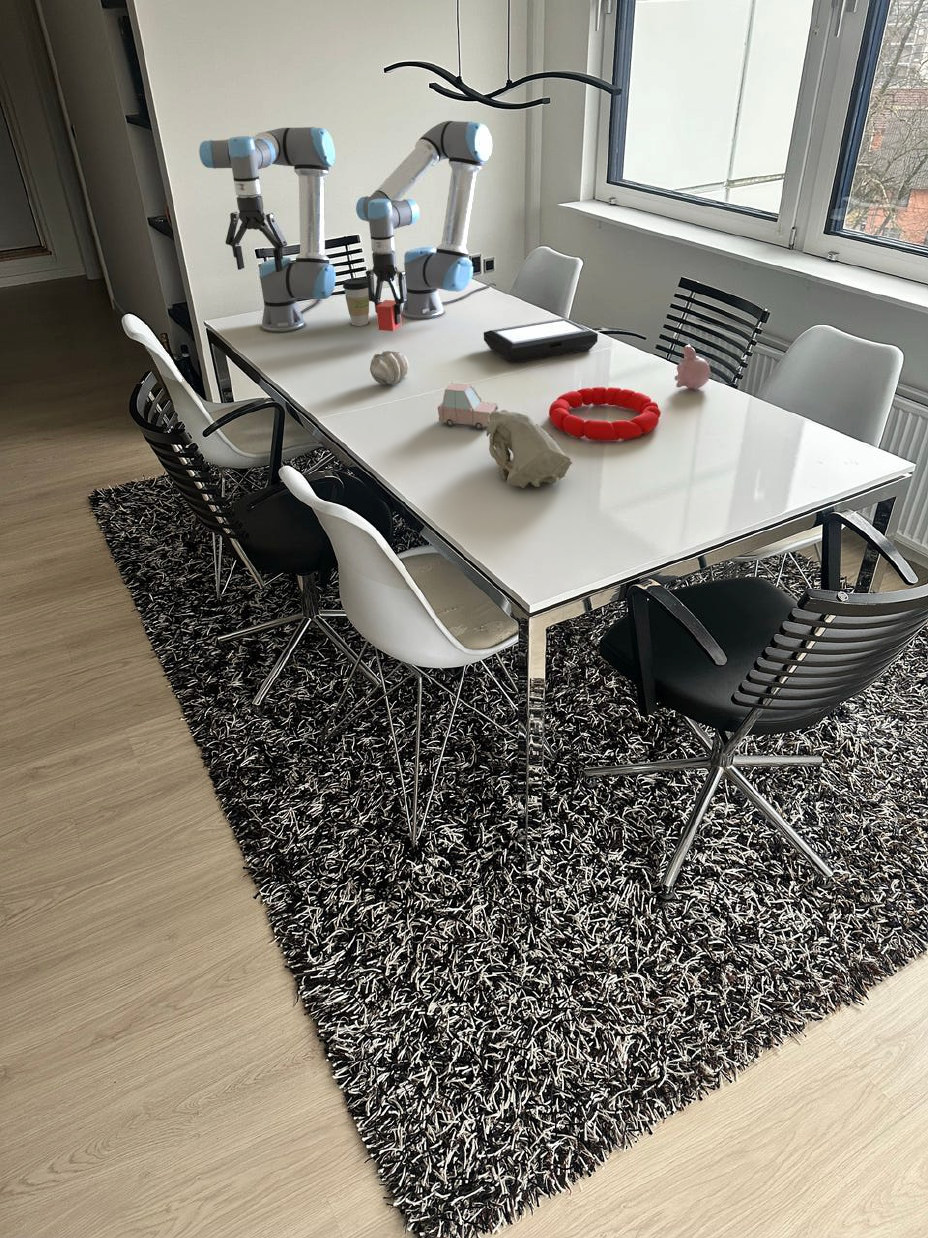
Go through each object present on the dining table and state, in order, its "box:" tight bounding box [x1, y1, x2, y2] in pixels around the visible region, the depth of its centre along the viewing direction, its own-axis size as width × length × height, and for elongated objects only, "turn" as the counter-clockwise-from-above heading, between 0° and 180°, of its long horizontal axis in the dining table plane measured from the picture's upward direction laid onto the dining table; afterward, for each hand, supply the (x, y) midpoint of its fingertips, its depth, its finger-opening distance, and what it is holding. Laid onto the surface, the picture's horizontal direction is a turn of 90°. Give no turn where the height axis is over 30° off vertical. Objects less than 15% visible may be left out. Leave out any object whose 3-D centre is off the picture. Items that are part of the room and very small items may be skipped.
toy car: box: [437, 382, 499, 431], centre depth 243 cm, size 9×15×10 cm, turn 70°
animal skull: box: [485, 409, 573, 489], centre depth 216 cm, size 17×25×20 cm
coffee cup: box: [342, 277, 370, 327], centre depth 323 cm, size 10×10×15 cm
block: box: [376, 299, 403, 332], centre depth 303 cm, size 6×8×8 cm
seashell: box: [369, 350, 409, 385], centre depth 270 cm, size 10×15×10 cm
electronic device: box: [483, 317, 599, 364], centre depth 294 cm, size 32×6×20 cm
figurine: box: [674, 344, 711, 390], centre depth 259 cm, size 9×11×12 cm
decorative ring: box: [548, 386, 661, 442], centre depth 242 cm, size 7×30×30 cm
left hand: (260, 269), depth 278 cm, fingers open, 13 cm apart
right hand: (389, 322), depth 305 cm, fingers closed on block, 5 cm apart
